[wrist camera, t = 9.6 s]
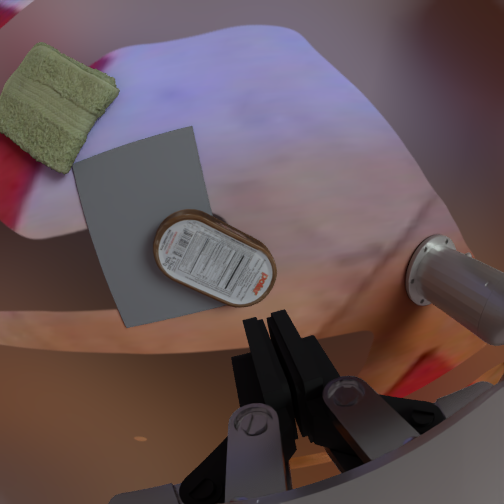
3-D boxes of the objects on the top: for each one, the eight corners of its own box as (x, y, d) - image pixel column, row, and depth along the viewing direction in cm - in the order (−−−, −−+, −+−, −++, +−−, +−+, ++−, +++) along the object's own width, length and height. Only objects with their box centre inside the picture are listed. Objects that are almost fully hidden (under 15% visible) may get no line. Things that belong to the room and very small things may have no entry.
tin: (173, 196, 30) (144, 258, 32) (169, 201, 27) (139, 269, 29) (285, 253, 35) (251, 306, 37) (292, 263, 32) (255, 320, 34)
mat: (192, 126, 29) (192, 125, 28) (234, 302, 36) (234, 303, 36) (73, 164, 27) (72, 164, 27) (126, 326, 34) (126, 327, 34)
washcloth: (42, 41, 20) (31, 34, 17) (128, 87, 25) (121, 79, 22) (-7, 124, 22) (-20, 122, 19) (68, 182, 27) (56, 184, 24)
